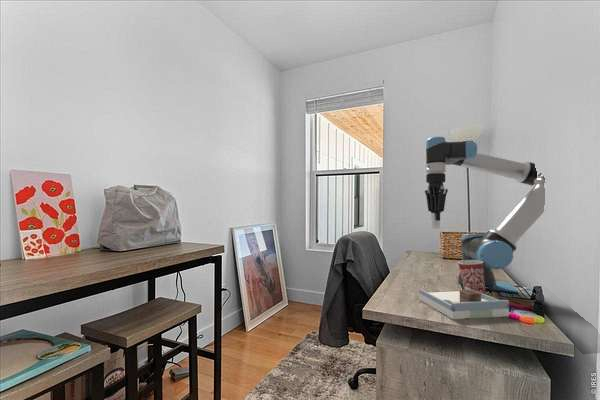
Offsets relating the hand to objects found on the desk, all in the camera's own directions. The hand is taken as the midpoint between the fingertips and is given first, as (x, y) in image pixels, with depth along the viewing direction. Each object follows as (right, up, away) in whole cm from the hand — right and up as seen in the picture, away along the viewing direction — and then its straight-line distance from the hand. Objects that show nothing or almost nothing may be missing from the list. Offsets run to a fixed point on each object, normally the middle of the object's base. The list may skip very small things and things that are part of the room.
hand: (435, 228), depth 126 cm
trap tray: (-1, -26, -21) cm, 34 cm away
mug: (+13, -27, -6) cm, 30 cm away
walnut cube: (-1, -24, -27) cm, 36 cm away
